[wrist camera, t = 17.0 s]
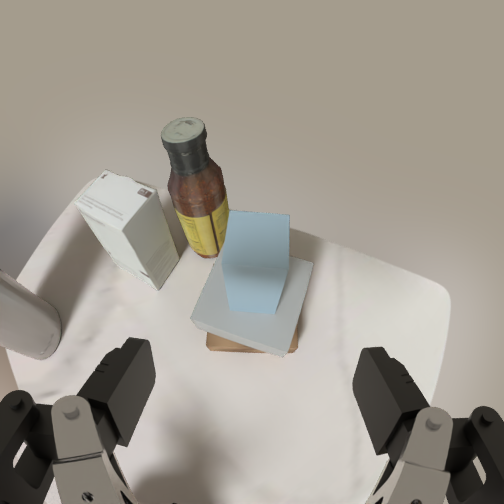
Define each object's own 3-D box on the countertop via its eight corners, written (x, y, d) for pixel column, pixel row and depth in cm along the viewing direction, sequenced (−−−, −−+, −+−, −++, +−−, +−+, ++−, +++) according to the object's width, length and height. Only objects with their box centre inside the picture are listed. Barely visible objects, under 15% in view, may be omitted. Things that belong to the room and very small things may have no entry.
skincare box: (117, 267, 37) (68, 204, 24) (140, 236, 40) (103, 166, 27) (161, 293, 36) (118, 232, 23) (184, 257, 38) (156, 185, 25)
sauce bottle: (222, 218, 42) (210, 101, 24) (240, 250, 39) (235, 132, 22) (182, 234, 40) (146, 121, 23) (196, 269, 37) (159, 157, 20)
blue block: (229, 310, 27) (221, 263, 18) (234, 270, 29) (229, 210, 20) (274, 314, 27) (288, 268, 18) (276, 273, 29) (289, 214, 20)
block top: (197, 327, 30) (190, 318, 26) (229, 253, 35) (226, 236, 31) (282, 357, 28) (288, 352, 25) (307, 278, 33) (313, 263, 30)
